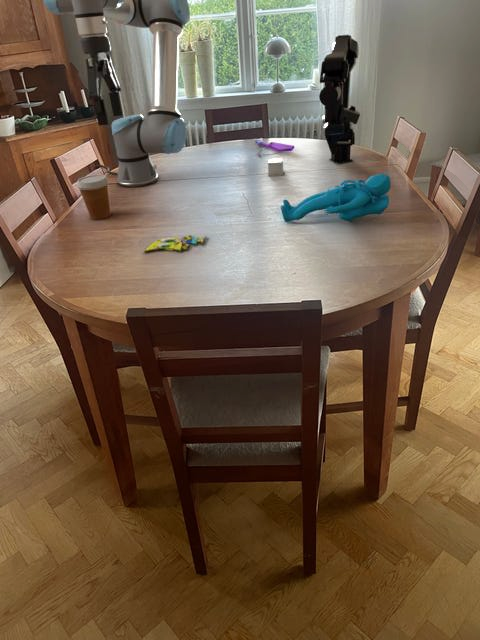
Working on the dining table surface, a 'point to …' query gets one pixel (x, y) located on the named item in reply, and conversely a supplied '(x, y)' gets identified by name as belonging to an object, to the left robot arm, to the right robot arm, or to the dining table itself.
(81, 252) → the dining table surface
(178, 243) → the toy
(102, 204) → the disposable coffee cup
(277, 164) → the block
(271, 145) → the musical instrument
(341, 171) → the dining table surface
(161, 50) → the left robot arm
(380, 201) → the toy
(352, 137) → the right robot arm
